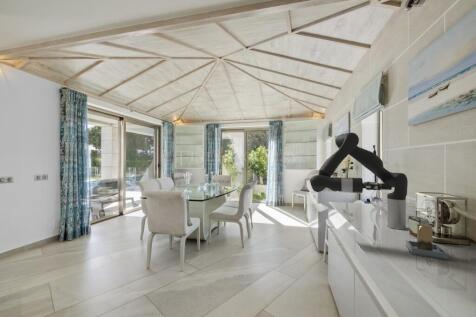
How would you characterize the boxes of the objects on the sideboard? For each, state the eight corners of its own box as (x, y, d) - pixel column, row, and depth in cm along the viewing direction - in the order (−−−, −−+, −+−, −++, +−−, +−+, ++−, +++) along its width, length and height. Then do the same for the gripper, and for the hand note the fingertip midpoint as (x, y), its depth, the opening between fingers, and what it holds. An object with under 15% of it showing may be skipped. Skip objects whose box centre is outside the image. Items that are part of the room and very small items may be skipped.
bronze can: (416, 247, 98) (415, 223, 99) (430, 249, 96) (430, 224, 96) (419, 251, 94) (419, 225, 94) (434, 254, 92) (434, 227, 92)
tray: (405, 245, 103) (405, 240, 103) (438, 250, 97) (437, 244, 97) (411, 254, 92) (411, 248, 92) (448, 260, 87) (448, 253, 87)
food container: (436, 242, 108) (435, 221, 108) (421, 241, 109) (421, 221, 109) (420, 234, 120) (420, 216, 120) (407, 233, 121) (407, 215, 121)
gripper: (351, 178, 105) (392, 179, 98) (351, 176, 118) (387, 177, 110) (351, 194, 105) (392, 196, 97) (351, 190, 117) (388, 192, 110)
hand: (390, 186), depth 104 cm, fingers open, 8 cm apart
